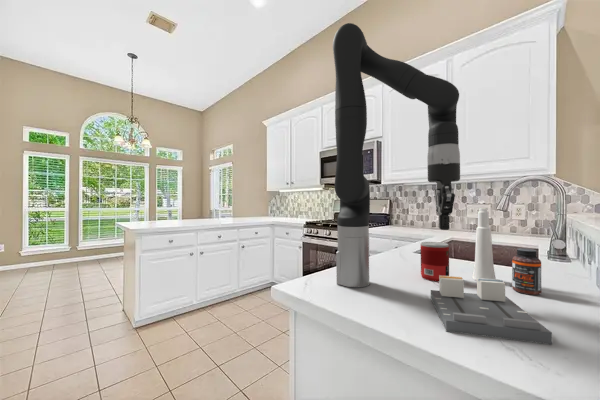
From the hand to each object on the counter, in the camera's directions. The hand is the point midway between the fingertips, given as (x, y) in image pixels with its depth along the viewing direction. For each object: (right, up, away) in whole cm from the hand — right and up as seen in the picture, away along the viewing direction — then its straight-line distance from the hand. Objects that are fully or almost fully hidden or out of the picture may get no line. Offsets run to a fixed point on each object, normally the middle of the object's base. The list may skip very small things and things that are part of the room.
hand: (444, 229), depth 70 cm
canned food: (+5, -17, +14) cm, 23 cm away
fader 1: (-2, -15, -7) cm, 16 cm away
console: (0, -17, -14) cm, 22 cm away
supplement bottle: (+23, -17, +1) cm, 28 cm away
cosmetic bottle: (+19, -17, +12) cm, 28 cm away
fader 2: (+6, -15, -9) cm, 18 cm away
